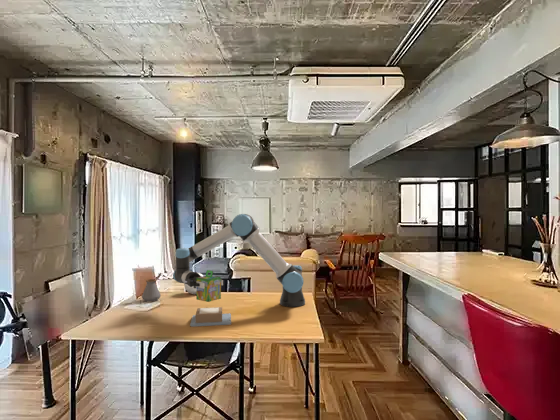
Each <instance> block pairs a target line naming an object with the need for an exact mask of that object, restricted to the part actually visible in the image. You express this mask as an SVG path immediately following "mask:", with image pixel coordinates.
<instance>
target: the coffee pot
mask: <svg viewBox="0 0 560 420" xmlns="http://www.w3.org/2000/svg"><path fill="white" fill-rule="evenodd" d="M160 276H161V277H162V276H163V273H162V272H160V273H159V274H158V275H157V276H156V278H154V279H152V278H151V279H145V282H146V285H145V287H144V290H143V293H142V295H141V299H142V300H143V301H144V302H146V301H153V302H158V300H160V298H161V292H160V290H159V289H158V286H157V284H156V282H157V280H158V279H159V278H160Z"/></svg>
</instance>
